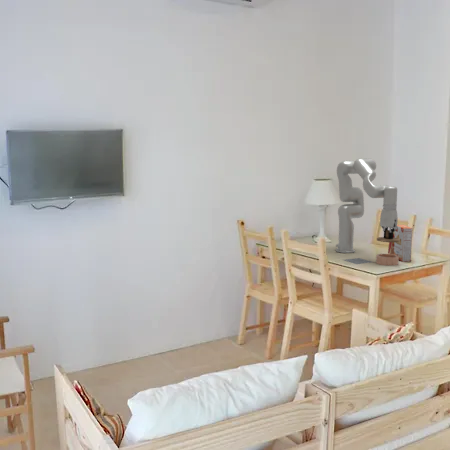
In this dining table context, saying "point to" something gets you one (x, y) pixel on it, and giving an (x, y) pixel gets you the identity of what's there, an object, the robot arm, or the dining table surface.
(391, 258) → the bowl
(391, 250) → the milk carton
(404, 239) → the cracker box
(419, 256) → the dining table surface
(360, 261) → the mat
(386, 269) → the dining table surface
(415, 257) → the dining table surface
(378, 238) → the lid
